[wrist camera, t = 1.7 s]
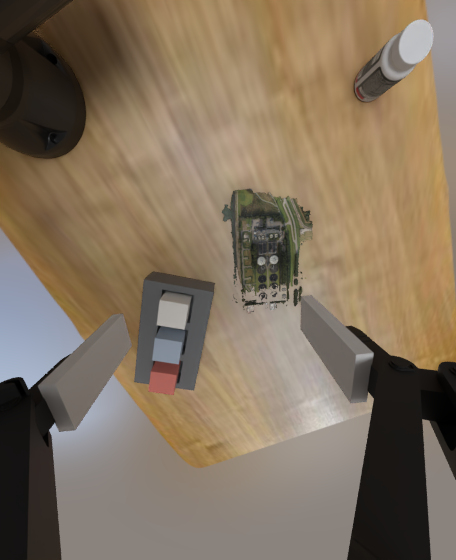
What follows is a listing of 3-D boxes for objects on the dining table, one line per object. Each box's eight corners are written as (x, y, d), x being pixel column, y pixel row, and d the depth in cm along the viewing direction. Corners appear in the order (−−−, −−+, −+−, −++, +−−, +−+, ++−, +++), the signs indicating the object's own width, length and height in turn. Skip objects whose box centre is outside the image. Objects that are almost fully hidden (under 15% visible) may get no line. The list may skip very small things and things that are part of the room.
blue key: (158, 346, 41) (152, 360, 37) (161, 325, 39) (154, 337, 35) (182, 350, 41) (178, 364, 37) (186, 329, 40) (182, 342, 36)
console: (143, 364, 47) (134, 382, 42) (153, 271, 40) (143, 279, 36) (196, 372, 48) (193, 390, 43) (214, 283, 41) (213, 292, 37)
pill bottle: (384, 98, 33) (436, 62, 25) (354, 106, 33) (396, 73, 25) (384, 60, 31) (439, 9, 23) (352, 69, 32) (396, 21, 24)
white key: (163, 313, 39) (156, 325, 35) (166, 290, 37) (159, 299, 33) (187, 318, 39) (184, 329, 35) (191, 295, 38) (188, 305, 34)
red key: (154, 375, 43) (148, 391, 39) (157, 356, 41) (150, 371, 37) (177, 378, 43) (173, 394, 39) (180, 360, 42) (176, 375, 38)
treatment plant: (321, 300, 44) (329, 307, 40) (237, 320, 45) (239, 330, 41) (304, 171, 36) (312, 167, 33) (203, 199, 37) (202, 198, 34)
